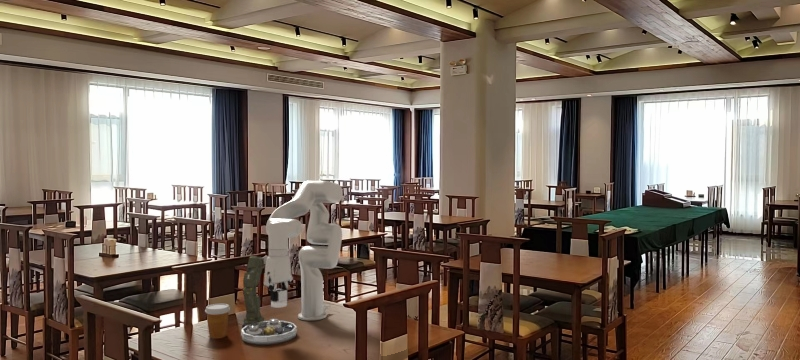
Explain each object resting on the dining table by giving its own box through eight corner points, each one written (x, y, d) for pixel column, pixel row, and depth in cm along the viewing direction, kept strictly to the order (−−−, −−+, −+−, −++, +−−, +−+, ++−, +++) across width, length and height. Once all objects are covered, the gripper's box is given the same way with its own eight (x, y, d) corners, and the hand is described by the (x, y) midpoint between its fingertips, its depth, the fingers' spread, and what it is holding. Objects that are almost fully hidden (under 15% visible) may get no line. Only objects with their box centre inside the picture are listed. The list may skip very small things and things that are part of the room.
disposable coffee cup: (200, 338, 230) (199, 308, 230) (215, 331, 239) (215, 302, 238) (220, 340, 227) (219, 310, 226) (235, 333, 236) (234, 304, 235)
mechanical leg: (251, 329, 239) (257, 255, 244) (235, 328, 240) (241, 254, 246) (265, 327, 252) (271, 257, 258) (249, 326, 253) (256, 257, 259)
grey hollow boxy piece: (279, 303, 232) (279, 288, 232) (290, 305, 229) (289, 289, 228) (267, 306, 227) (267, 290, 227) (278, 308, 224) (278, 292, 224)
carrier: (271, 325, 247) (271, 314, 247) (307, 334, 235) (307, 322, 235) (230, 338, 230) (230, 326, 230) (267, 348, 218) (266, 335, 218)
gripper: (287, 249, 236) (288, 294, 237) (255, 255, 223) (255, 302, 223) (301, 251, 232) (301, 296, 233) (268, 256, 218) (268, 305, 219)
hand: (278, 299), depth 228 cm, fingers closed on grey hollow boxy piece, 4 cm apart
